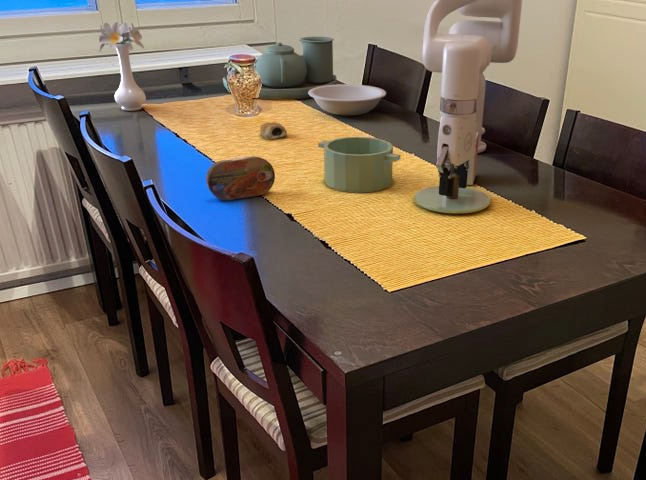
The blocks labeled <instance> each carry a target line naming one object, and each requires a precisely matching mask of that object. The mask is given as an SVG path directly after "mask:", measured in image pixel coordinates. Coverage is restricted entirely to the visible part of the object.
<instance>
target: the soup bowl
mask: <svg viewBox="0 0 646 480" xmlns="http://www.w3.org/2000/svg"><path fill="white" fill-rule="evenodd" d="M308 94H309V95H310V96H311V98H313V99H314V102H316V104H317V105H318V106H319V107H320V108H321V109H322V110H323V111H325V112H327V113H329V114H332V115H338V116H359V115H364V114H367V113H369V112H370V111H372V110H373V109H375V107H377V105H378V104H379V103H380V101H381V99H383V98H384V97H386V96H387V91H386V90H384V89H383V88H380V87H376V86H373V85H365V84H355V83H353V84H351V83H347V84H345V83H343V84H338V83H337V85H326V86H320V87H316V88H313V89H311V90H309V92H308Z"/></svg>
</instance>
